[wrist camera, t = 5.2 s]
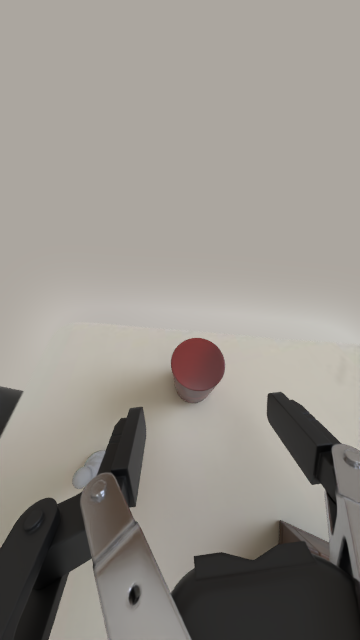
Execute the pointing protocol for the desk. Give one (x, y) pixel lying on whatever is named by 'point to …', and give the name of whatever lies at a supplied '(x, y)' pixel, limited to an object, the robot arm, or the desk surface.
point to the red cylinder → (196, 368)
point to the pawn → (88, 470)
